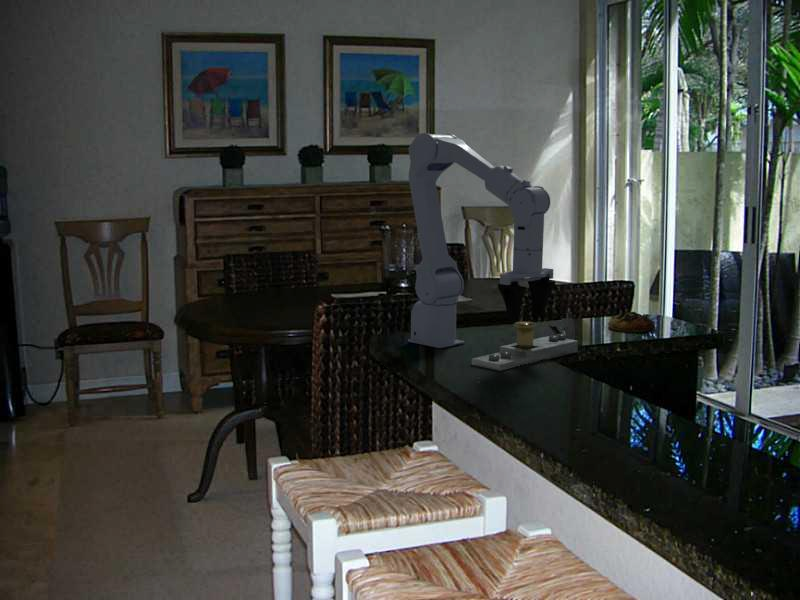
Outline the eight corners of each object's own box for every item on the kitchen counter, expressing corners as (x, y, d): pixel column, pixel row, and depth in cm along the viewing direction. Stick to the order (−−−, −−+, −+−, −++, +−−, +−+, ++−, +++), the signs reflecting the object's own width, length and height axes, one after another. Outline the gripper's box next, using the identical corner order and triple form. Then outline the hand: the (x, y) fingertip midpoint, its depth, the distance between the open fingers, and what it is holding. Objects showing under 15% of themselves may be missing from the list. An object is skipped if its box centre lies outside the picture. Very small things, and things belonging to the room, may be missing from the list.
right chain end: (499, 358, 188) (499, 342, 188) (549, 346, 200) (550, 332, 199) (527, 364, 183) (528, 347, 183) (577, 352, 195) (578, 336, 194)
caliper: (572, 342, 206) (573, 314, 205) (567, 342, 206) (569, 314, 205) (553, 325, 226) (554, 299, 225) (548, 325, 226) (549, 299, 225)
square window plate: (471, 364, 182) (471, 354, 182) (522, 353, 193) (522, 343, 193) (499, 370, 177) (500, 360, 177) (549, 358, 188) (550, 348, 188)
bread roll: (665, 331, 219) (663, 310, 218) (625, 341, 215) (623, 319, 214) (636, 325, 229) (634, 304, 228) (597, 334, 225) (595, 313, 224)
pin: (508, 358, 189) (509, 323, 188) (523, 355, 192) (524, 320, 191) (526, 361, 185) (527, 326, 184) (540, 358, 188) (541, 323, 187)
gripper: (521, 253, 177) (518, 324, 179) (566, 248, 187) (564, 316, 189) (492, 250, 182) (490, 319, 184) (538, 245, 192) (535, 311, 194)
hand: (525, 317), depth 187 cm, fingers open, 7 cm apart
